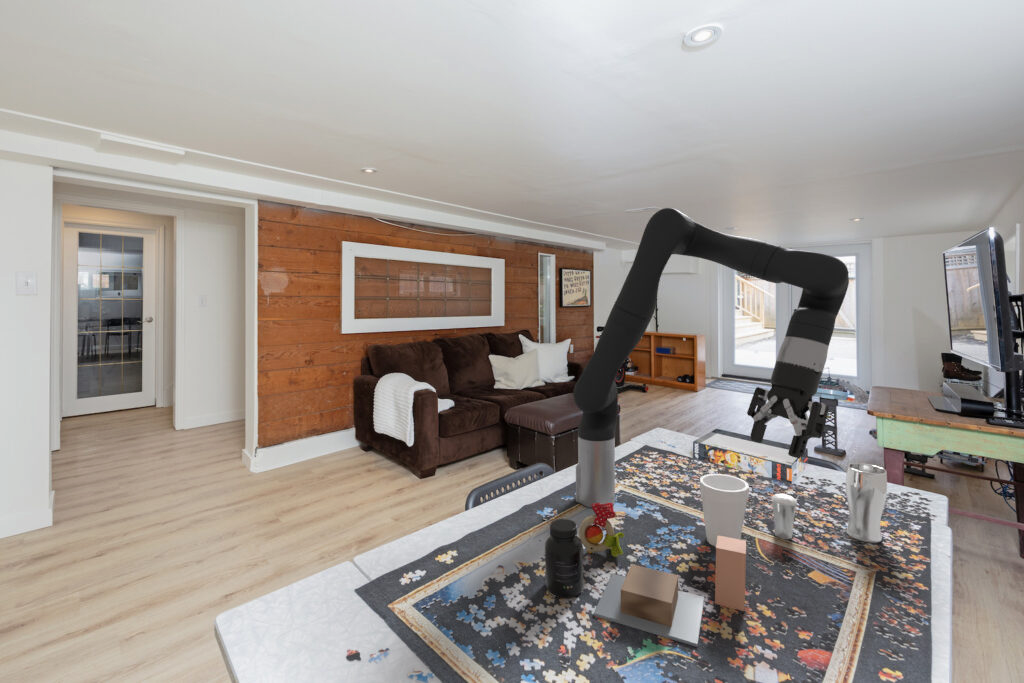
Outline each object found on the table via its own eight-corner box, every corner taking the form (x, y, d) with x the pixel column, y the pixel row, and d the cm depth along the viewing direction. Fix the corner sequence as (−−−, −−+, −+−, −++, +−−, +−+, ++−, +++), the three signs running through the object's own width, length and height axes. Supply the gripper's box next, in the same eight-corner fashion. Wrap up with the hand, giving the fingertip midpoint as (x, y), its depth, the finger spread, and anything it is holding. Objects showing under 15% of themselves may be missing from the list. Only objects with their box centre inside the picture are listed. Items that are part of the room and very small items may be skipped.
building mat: (593, 615, 76) (593, 612, 76) (612, 576, 86) (612, 573, 86) (697, 647, 68) (697, 643, 68) (704, 599, 79) (704, 596, 79)
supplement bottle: (542, 577, 86) (541, 516, 85) (578, 574, 87) (577, 514, 86) (548, 601, 80) (547, 535, 79) (587, 598, 80) (586, 532, 79)
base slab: (620, 612, 76) (620, 589, 75) (631, 585, 83) (631, 564, 82) (671, 627, 72) (671, 603, 72) (678, 597, 79) (678, 575, 79)
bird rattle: (592, 571, 92) (634, 554, 91) (569, 522, 91) (612, 504, 90) (589, 554, 98) (628, 538, 97) (567, 508, 97) (607, 491, 96)
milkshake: (803, 542, 97) (804, 496, 96) (775, 540, 98) (776, 495, 97) (794, 531, 101) (796, 487, 100) (768, 529, 102) (769, 486, 101)
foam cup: (711, 526, 104) (712, 470, 103) (754, 541, 97) (756, 482, 96) (691, 541, 98) (691, 482, 97) (735, 558, 91) (736, 496, 90)
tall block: (715, 603, 78) (716, 547, 77) (716, 588, 82) (717, 535, 81) (744, 611, 76) (745, 553, 75) (744, 595, 80) (746, 540, 79)
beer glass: (878, 531, 100) (882, 464, 99) (889, 546, 94) (892, 476, 93) (840, 525, 103) (843, 460, 102) (847, 540, 97) (851, 471, 96)
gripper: (753, 355, 90) (730, 433, 91) (820, 366, 77) (792, 458, 77) (781, 364, 92) (758, 441, 93) (851, 376, 79) (824, 466, 79)
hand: (774, 449), depth 85 cm, fingers open, 8 cm apart
